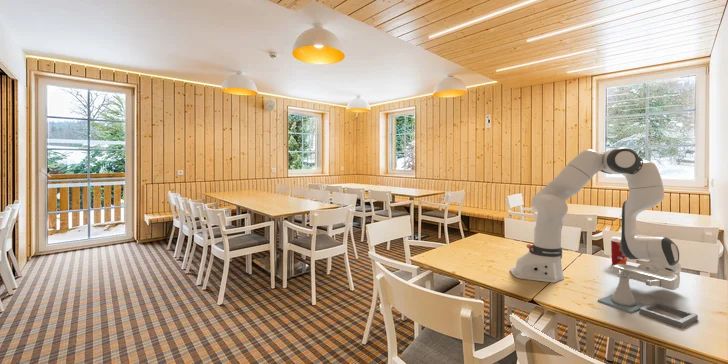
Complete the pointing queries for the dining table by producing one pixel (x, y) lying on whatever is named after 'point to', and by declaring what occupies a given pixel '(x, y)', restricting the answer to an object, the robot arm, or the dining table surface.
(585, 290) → the dining table surface
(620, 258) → the paper cup
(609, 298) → the mat
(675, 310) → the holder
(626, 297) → the flask
